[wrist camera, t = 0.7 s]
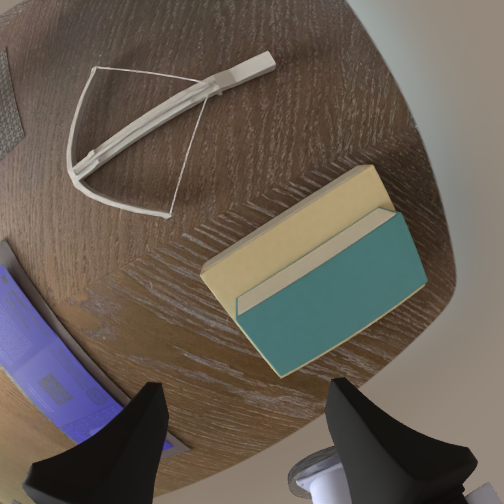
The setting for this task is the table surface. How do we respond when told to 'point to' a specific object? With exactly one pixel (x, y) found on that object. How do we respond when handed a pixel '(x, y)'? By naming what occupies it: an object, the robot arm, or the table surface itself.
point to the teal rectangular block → (332, 290)
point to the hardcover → (295, 238)
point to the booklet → (54, 362)
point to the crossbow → (152, 124)
